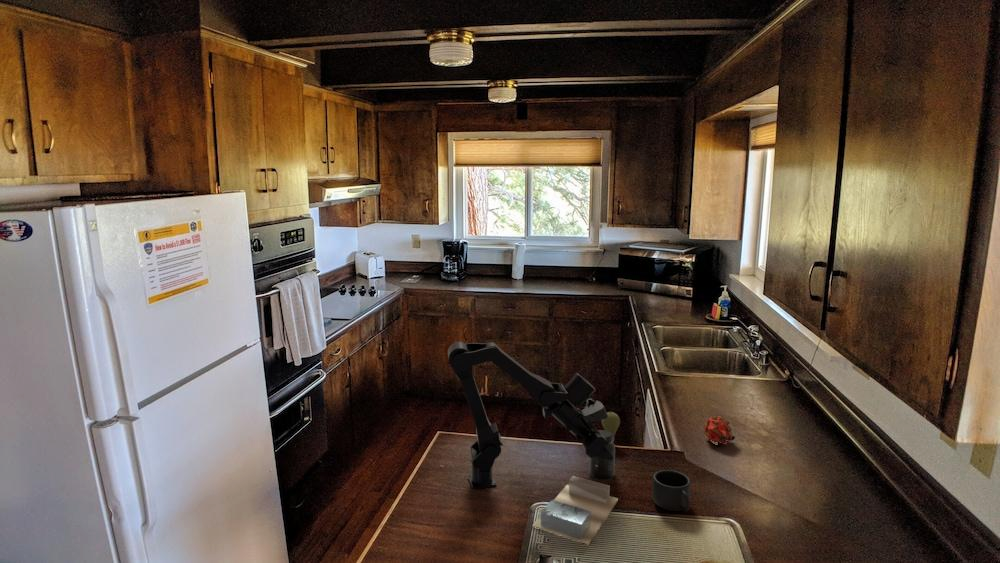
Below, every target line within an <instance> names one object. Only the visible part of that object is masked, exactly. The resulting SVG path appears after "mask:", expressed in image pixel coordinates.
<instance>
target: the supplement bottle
mask: <svg viewBox="0 0 1000 563" xmlns="http://www.w3.org/2000/svg"><path fill="white" fill-rule="evenodd" d="M597 431H599V432H600V433H601V434H602V435H603V436H604V437H605V439H606V440H607V443H606V445H605V446H606V448H607V449H608V450H609V452H610V453H611V455H612V456H613V457H614V458H613V459H612V460H611V461H610V460H606V459H603V458H599V457H592V458H590V457H589V474H590V476H591V477H592V478H594V479H596V480H600V481H606V480H610V479H612V478H613V477H615V470H616V468H615V464H616V446H615V443H614V442H612V434H611V433H610V432H608V431H605V430H603V429H600V430H597Z"/></svg>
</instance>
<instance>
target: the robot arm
mask: <svg viewBox="0 0 1000 563" xmlns="http://www.w3.org/2000/svg"><path fill="white" fill-rule="evenodd" d="M447 358H448V363H449V364H448V365H450V368H451V370H452V372H453V373H454V375H455V376H456V377H457V379H458V381H459V382H460V384H461V387H462V390H463V394H464V396H465V399H466V402H467V406H468V408H469V411H470V413H471V417H472V419H473V422H474V426H475V431H476V432H475V433H476V437H477V438H476V439H477V440H476V441H474V443H473V444H472V445H471V446H470V447H469V448H470V450H469V451H470V455H471V456H470V457H471V461H470V462H471V463H470V464H471V467H470V468H471V469H470V470H471V474H470V475H468V476H467V479H468V478H469V479H468V481H469V483H470V485H471V487H472V490H476V489H484V488H490V487H496V486H497V482H496V480H495V478H494V476H493V475H494V474H493V472H494V471H493V470H494V469H493V466H494V463H495V461H496V459H498V458H499V456H500V454H501V453H502V446H504V444H503V440H502V436H501V434H500V432H499V430H498V429H499V428H498V426H497V422H494V423H491V422H490V421H489V419H488V416H487V412H486V409H485V406H484V403H483V400H482V397H481V395H480V394H481V393H480V392H479V389H478V386H477V383H476V380H475V377H474V370H473V366H477V365H481V364H483V363H484V364H485V363H488V362H489V363H490V362H491V363H493V365H495V366H496V367H498V368H499V369H500V370H502V371H503V372H504V373H506V374H507V375H508V376H510V377H511V378H512V380H513V379H514V381H516V382H517V383H518V384H519V385H521V386H522V387H523V388H524V389H525V390H526V391H527V393H528V394H529V395H530V397H532V399H533V400H534V401H535V402H536V403H537V404H538V405H539V406H540V407H542V415H543V417H544V419H545V420H547V419H548V418H550V416H553V417H554V418H555V419H556V420H557V421H558V422H559V423H561V424H562V426H563V427H564V429H565V430H566V431H567V432H568V433H569V432H570V433H571V434H572V435H573V436H574V437H575V439H576V440H577V441H578V442H580V441H581V440H582V439H585V440H584V441H583V442H582V446H581V447H582V450H583V452H584V453H585V454H586V455H587V456H588V458H589V459H590V458H592V457H599V458H603V459H606V460H610V461H611V460H612V459H613V458H614V457H613V456H612V455H611V453H610V452H609V450H608V449H607V448H606V446H605V445H606V443H607V440H606V439H605V437H604V436H603V435H602V434H601V433H600V432H599V431H598V430H595V427H596V425H595V424H597V423H598V422H601V421H602V419H606V418H607V417H608V414H607V411H606V408H605V406H604V405H603V403H602V402H601V401H599V400H594V399H593V398H591V395H592V394H593V393H594V392H596V388H595V387H594V386H593V385H592V384H591V383H590V382H589V381H588V380H587V379H586V378H585V377H583V376H582V375H580V374H579V373H578V372H576V373H575V374H574V375H573V376H572V377H571V379H570V380H569V381H568V382H567V383H566V384H565V385H563V384H562V383H558V382H550V381H549V380H548V379H546V378H544V377H542V376H540V375H538V374H535V373H533V372H531V371H529V370H528V369H527V368H525V367H524V366H523V365H521V364H520V363H519V362H518V361H516V360H515V359H514V358H513V357H511V356H510V355H509V354H507V353H506V352H505V351H504V350H503V349H501V348H500V347H499V346H498V345H497V344H496V343H495V342H484V343H479V342H469V343H464V342H463V341H455V342H453V343H451V345H449V347H448V349H447ZM589 397H590V398H589ZM568 399H569V400H570V401H569V400H568ZM571 402H572V403H573V404H572V403H571ZM585 402H586V403H585ZM584 403H585V406H584V408H583V409H582V410H581V409H580V408H579V407H575V406H574V405H578V406H581V405H582V404H584Z"/></svg>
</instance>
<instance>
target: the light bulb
mask: <svg viewBox="0 0 1000 563" xmlns="http://www.w3.org/2000/svg"><path fill="white" fill-rule="evenodd" d="M606 412H607V411H606ZM607 414H608V417H607V418H606V419H602V420H601V425H602V428H603V429H604V430H605V431H608V432H610V433H611V434H612V442H613V443H614V442H615V436H616V433H617V431H618V429H619V427H620V424H621V418H620V417H619V415H618V414H617V413H615V412H613V411H608V412H607Z"/></svg>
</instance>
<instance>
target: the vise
mask: <svg viewBox="0 0 1000 563" xmlns="http://www.w3.org/2000/svg"><path fill="white" fill-rule="evenodd" d="M568 481H569V482H568V484H566V485H565V486H564V488H562V490H560V492H559V493H558V494H557V496H556V497H555V498H554V499H553V500H554V501H558V502H561V503H564V504H568V505H571V506H575V507H578V508H582V509H585V510H588V511H591V525H590V527H589V528H588V529H587V531H586V532H585V534H584V535H583V537H582V538H577V537H574V536H571V535H568V534H565V533H562V532H559V531H555V530H552V529H549V528H546V527H543V526H541V515H540V516H539V517H538V518H537V519H536V520H535V522H533V524H532V526H534V527H536V528H539V529H541V530H545V531H549V532H552V533H554V534H557V535H561V536H564V537H566V538H569V539H572V540H575V541H579V542H582V543H585V544H588V545H589V544H591V543H592V542H591V541H593V540H594V538H595V537H596V535H597V534H598V532H599V531H600V529H601V528H600V527H602V526H603V525H604V523H605V522H606V520H607V519H608V517H609V515H610V514H611V512H612V510H613V509H614V508H615V506H616V504H617V503H618V502H619V498H618V497H615V496H611V495H610V490H611V489H610V484H609V485H608V484H606V483H601V482H597V481H593V480H590V479H587V478H582V477H578V476H575V475H572V476H571V477H570V479H569V480H568ZM604 521H605V522H604ZM602 524H603V525H602ZM532 526H531V527H532ZM541 530H540V531H541ZM598 530H599V531H598ZM597 531H598V532H597ZM596 533H597V534H596ZM554 534H553V535H554ZM557 535H556V536H557ZM594 536H595V537H594ZM566 538H565V539H566ZM569 539H568V540H569ZM592 539H593V540H592ZM572 540H571V541H572ZM575 541H574V542H575ZM590 542H591V543H590ZM585 544H584V545H585ZM588 545H587V546H588ZM589 546H590V545H589Z"/></svg>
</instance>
